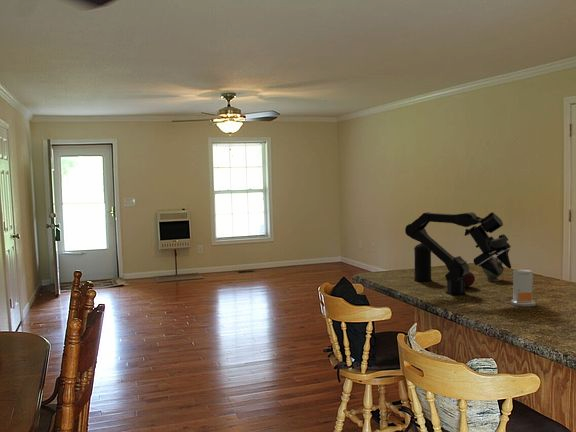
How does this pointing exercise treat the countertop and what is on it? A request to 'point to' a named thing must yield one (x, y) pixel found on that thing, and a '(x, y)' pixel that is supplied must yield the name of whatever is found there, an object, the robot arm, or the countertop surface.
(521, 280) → the skincare box
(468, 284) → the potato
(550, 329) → the countertop surface
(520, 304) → the silver round plate
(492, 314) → the countertop surface
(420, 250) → the aerosol can
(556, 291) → the countertop surface
